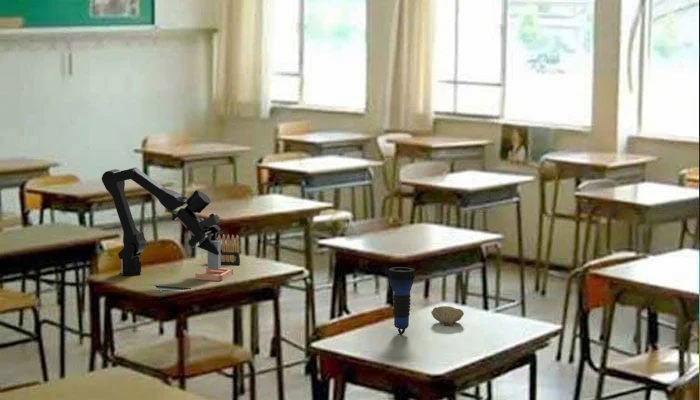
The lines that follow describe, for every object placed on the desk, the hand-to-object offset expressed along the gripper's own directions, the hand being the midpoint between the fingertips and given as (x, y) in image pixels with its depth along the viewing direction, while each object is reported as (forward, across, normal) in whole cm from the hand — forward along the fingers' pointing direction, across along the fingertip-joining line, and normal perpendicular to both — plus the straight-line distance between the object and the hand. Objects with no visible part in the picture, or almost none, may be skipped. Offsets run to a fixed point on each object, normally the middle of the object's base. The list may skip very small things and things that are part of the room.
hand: (220, 253), depth 421 cm
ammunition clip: (+2, +27, +12) cm, 30 cm away
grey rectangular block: (+2, 0, +6) cm, 6 cm away
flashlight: (+62, -54, -48) cm, 95 cm away
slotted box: (+5, 0, +8) cm, 10 cm away
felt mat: (-1, -16, +15) cm, 22 cm away
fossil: (+70, -38, -57) cm, 98 cm away
